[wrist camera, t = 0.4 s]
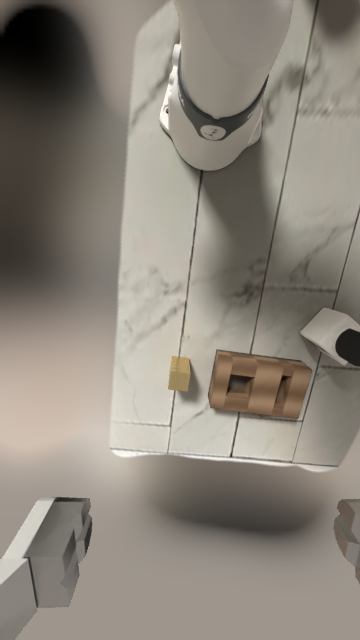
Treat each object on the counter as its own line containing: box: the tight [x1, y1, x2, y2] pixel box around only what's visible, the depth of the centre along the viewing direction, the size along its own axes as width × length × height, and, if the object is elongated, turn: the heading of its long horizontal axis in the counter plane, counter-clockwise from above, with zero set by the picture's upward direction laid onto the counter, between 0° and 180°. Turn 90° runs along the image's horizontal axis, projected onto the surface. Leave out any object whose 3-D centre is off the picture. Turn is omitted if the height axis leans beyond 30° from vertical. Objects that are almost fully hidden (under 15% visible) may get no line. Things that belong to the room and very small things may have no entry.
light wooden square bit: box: [168, 356, 191, 392], centre depth 51 cm, size 4×4×8 cm
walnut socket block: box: [208, 350, 312, 419], centre depth 54 cm, size 12×20×5 cm, turn 82°
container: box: [300, 307, 360, 366], centre depth 47 cm, size 8×8×13 cm
